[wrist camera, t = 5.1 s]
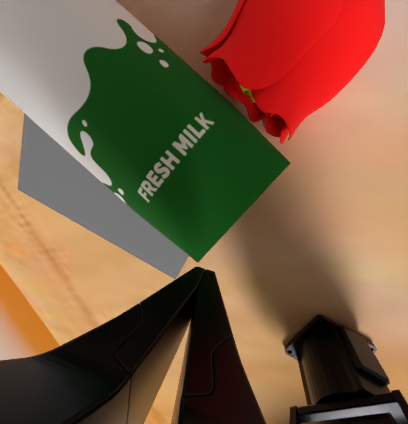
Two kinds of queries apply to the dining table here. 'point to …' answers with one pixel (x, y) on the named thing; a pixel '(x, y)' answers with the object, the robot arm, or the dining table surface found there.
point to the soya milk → (135, 116)
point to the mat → (89, 201)
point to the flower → (293, 55)
